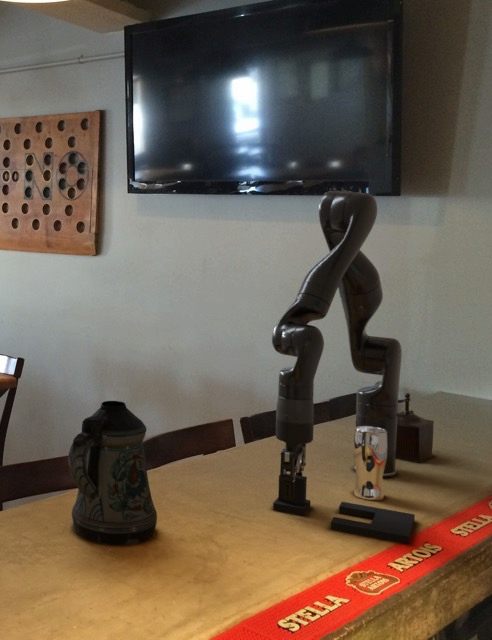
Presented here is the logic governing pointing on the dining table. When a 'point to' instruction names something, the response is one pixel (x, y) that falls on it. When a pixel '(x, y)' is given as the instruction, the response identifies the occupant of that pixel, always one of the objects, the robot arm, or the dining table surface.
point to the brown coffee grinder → (413, 435)
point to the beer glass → (370, 461)
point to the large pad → (375, 523)
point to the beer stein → (112, 478)
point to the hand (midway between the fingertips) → (292, 493)
